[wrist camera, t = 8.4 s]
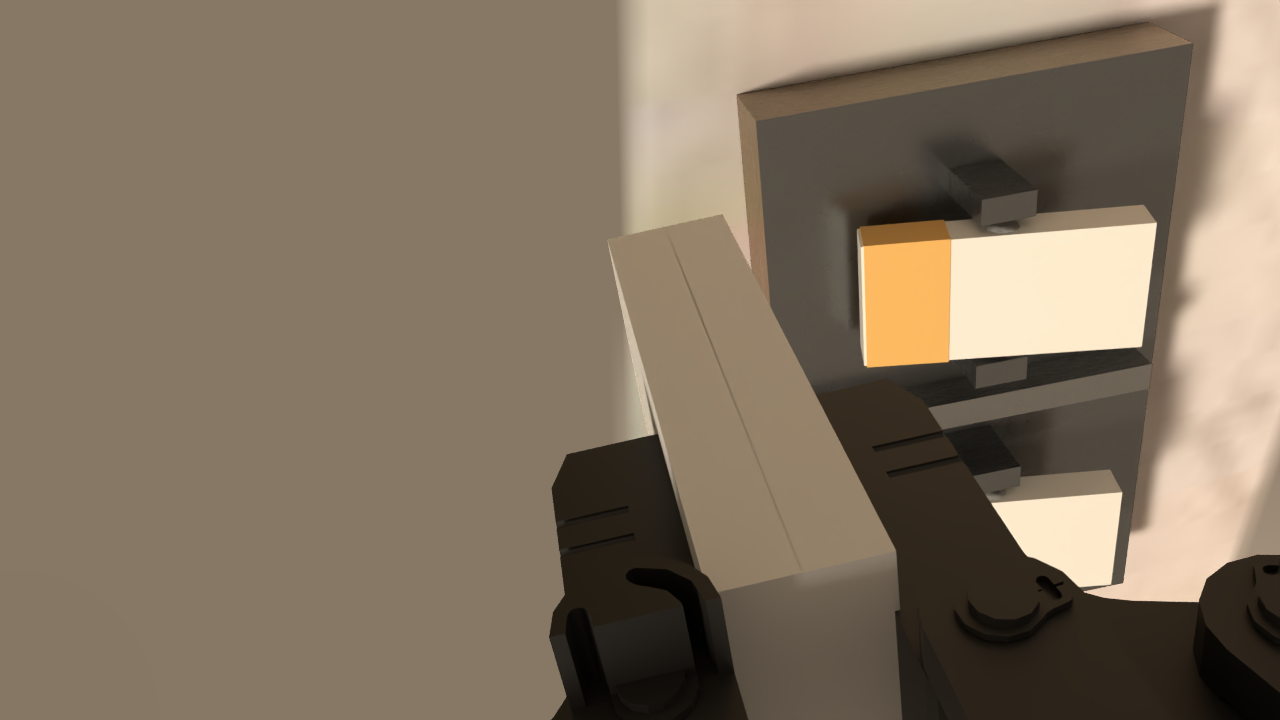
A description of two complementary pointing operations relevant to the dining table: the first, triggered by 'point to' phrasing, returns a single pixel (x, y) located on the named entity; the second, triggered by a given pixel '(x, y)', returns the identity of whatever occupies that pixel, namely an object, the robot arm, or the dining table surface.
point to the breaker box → (988, 193)
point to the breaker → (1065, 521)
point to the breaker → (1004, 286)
